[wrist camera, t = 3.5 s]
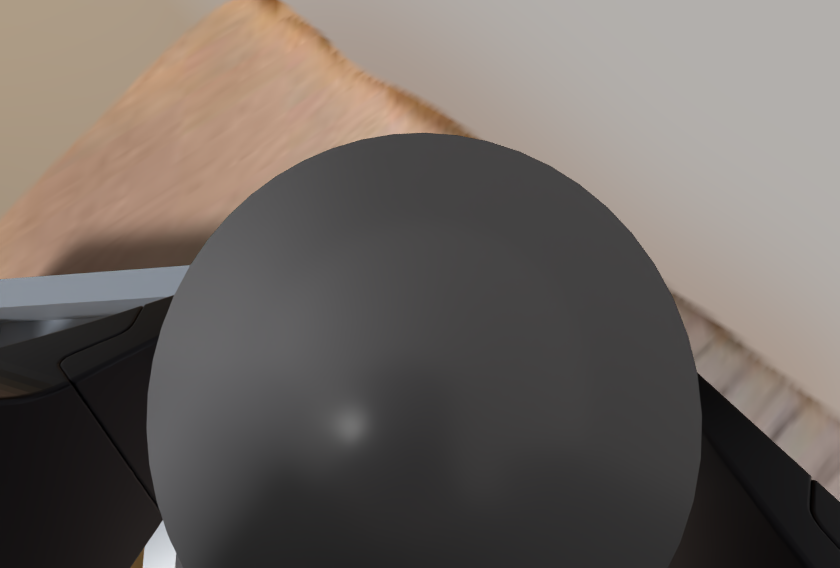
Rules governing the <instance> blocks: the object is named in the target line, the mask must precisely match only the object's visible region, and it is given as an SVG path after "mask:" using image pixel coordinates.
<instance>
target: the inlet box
mask: <svg viewBox="0 0 840 568" xmlns="http://www.w3.org/2000/svg"><path fill="white" fill-rule="evenodd" d="M189 266H190V265H187V266H173V267H160V268H146V269H133V270H120V271H106V272H93V273H79V274H66V275H53V276H39V277H26V278H12V279H0V347H3V346H7V345H11V344H14V343H18V342H21V341H25V340H29V339H32V338H36V337H39V336H43V335H47V334H50V333H54V332H57V331H61V330H64V329H68V328H71V327H75V326H78V325H82V324H85V323H89V322H92V321H95V320H98V319H102V318H105V317H108V316H111V315H114V314H117V313H121V312H124V311H127V310H130V309H133V308H136V307H139V306H143V307H144V305H145V304H148V303H151V302H154V301H157V300H160V299H163V298H166V297H169V296H172V295H175V293H176V291H177V289H178V287H179V285H180V283H181V281H182V280H183V278H184V276H185V274H186V272H187V270H188V268H189ZM131 568H183V566H182V564H181V562H180V560H179V558H178V556H177V554H176V552H175V550H174V547H173V545H172V543H171V541H170V539H169V537H168V534H167V531H166V528H165V525H164V522H163V521H162V522H161V524H160V525H159V527H158V528H157V530H156V531H155V533H154V534H153V536H152V537H151V538H150V540H149V541H148V543H147V544H146V546H145V547H144V549H143V550H142V552H141V553H140V555H139V556H138V557H137V559H136V560H135V562H134V563H133V565H132V566H131Z"/></svg>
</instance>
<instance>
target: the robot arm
mask: <svg viewBox="0 0 840 568" xmlns="http://www.w3.org/2000/svg"><path fill="white" fill-rule="evenodd" d="M173 297H174V295H172V296H169V297H166V298H163V299H160V300H157V301H154V302H151V303H148V304H145V305H144V307H143V306H139V307H136V308H133V309H130V310H127V311H124V312H121V313H117V314H114V315H111V316H108V317H105V318H102V319H98V320H95V321H92V322H89V323H85V324H82V325H78V326H75V327H71V328H68V329H64V330H61V331H57V332H54V333H50V334H47V335H43V336H39V337H36V338H32V339H29V340H25V341H21V342H18V343H14V344H11V345H7V346H3V347H0V568H131V566H132V565H133V563H134V562H135V560H136V559H137V557H138V556H139V555H140V553H141V552H142V550H143V549H144V547H145V546H146V544H147V543H148V541H149V540H150V538H151V537H152V536H153V534H154V533H155V531H156V530H157V528H158V527H159V525H160V524H161V522H162V521H163V519H162V516H161V513H160V510H159V507H158V504H157V501H156V496H155V491H154V486H153V481H152V476H151V470H150V465H149V454H148V442H147V429H146V428H147V401H148V389H149V382H150V376H151V369H152V362H153V357H154V354H155V350H156V346H157V342H158V339H159V335H160V331H161V328H162V325H163V322H164V320H165V317H166V315H167V312H168V310H169V307H170V304H171V302H172V299H173ZM697 375H698V384H699V393H700V402H701V411H702V434H701V460H700V466H699V472H698V478H697V484H696V490H695V496H694V501H693V504H692V507H691V511H690V514H689V517H688V520H687V523H686V526H685V529H684V533H683V536H682V539H681V542H680V544H679V546H678V548H677V550H676V552H675V554H674V556H673V558H672V560H671V562H670V564H669V566H668V568H840V502H839V501H838V500H837V499H836V498H835V497H834V496H833V495H831V494H830V493H829V492H828V491H827V490H826V489H825V488H824V487H823V486H822V485H821V484H819V483H818V482H817V481H816V480H811V476H810V475H809V474H808V473H807V472H806V471H805V470H804V469H803V468H802V467H801V466H799V465H798V464H797V463H796V462H795V461H794V460H793V459H792V458H791V457H790V456H788V455H787V454H786V453H785V452H784V451H783V450H782V449H781V448H780V447H779V446H777V445H776V444H775V443H774V442H773V441H772V440H771V439H770V438H769V437H768V436H766V435H765V434H764V433H763V432H762V431H761V430H760V429H759V428H758V427H757V426H755V425H754V424H753V423H752V422H751V421H750V420H749V419H748V418H747V417H746V416H744V415H743V414H742V413H741V412H740V411H739V410H738V409H737V408H736V407H735V406H733V405H732V404H731V403H730V402H729V401H728V400H727V399H726V398H725V397H724V396H722V395H721V394H720V393H719V392H718V391H717V390H716V389H715V388H714V387H713V386H711V385H710V384H709V383H708V382H707V381H706V380H705V379H704V378H703V377H702V376H700V375H699V374H698V373H697Z"/></svg>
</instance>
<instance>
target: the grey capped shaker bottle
mask: <svg viewBox="0 0 840 568" xmlns="http://www.w3.org/2000/svg"><path fill="white" fill-rule="evenodd" d="M146 429H147V442H148V454H149V465H150V470H151V476H152V481H153V486H154V491H155V496H156V501H157V504H158V507H159V510H160V513H161V516H162V519H163V522H164V525H165V528H166V531H167V534H168V537H169V539H170V541H171V543H172V545H173V547H174V550H175V552H176V554H177V556H178V558H179V560H180V562H181V564H182V566H183V568H668V566H669V564H670V562H671V560H672V558H673V556H674V554H675V552H676V550H677V548H678V546H679V544H680V542H681V539H682V536H683V533H684V529H685V526H686V523H687V520H688V517H689V514H690V511H691V507H692V504H693V501H694V496H695V490H696V484H697V478H698V472H699V466H700V460H701V434H702V411H701V402H700V393H699V384H698V375H697V371H696V367H695V363H694V359H693V354H692V350H691V346H690V342H689V338H688V335H687V332H686V329H685V327H684V324H683V322H682V319H681V317H680V314H679V312H678V309H677V307H676V304H675V301H674V299H673V297H672V295H671V293H670V291H669V290H668V288H667V286H666V284H665V282H664V280H663V279H662V277H661V275H660V273H659V271H658V270H657V268H656V266H655V264H654V263H653V261H652V260H651V259H650V257H649V256H648V255H647V253H646V252H645V250H644V249H643V248H642V246H641V245H640V244H639V242H638V241H637V240H636V238H635V237H634V235H633V234H632V233H631V232H630V231H629V230H628V229H627V228H626V227H625V226H624V225H623V223H621V221H620V220H619V219H618V218H617V217H616V216H615V215H614V214H613V213H612V212H611V211H610V210H609V209H608V208H607V207H606V206H605V205H604V204H602V203H601V202H600V201H599V200H598V199H597V198H595V197H594V196H593V195H592V194H590V193H589V192H588V191H587V190H586V189H584V188H583V187H582V186H581V185H579V184H578V183H576V182H575V181H573V180H572V179H570V178H568V177H567V176H565V175H564V174H562V173H560V172H559V171H557V170H555V169H554V168H552V167H551V166H549V165H547V164H545V163H543V162H540V161H538V160H536V159H534V158H532V157H530V156H527V155H526V154H523V153H521V152H519V151H515V150H513V149H510V148H506V147H504V146H501V145H497V144H494V143H491V142H488V141H483V140H478V139H473V138H468V137H463V136H458V135H447V134H433V133H412V134H392V135H387V136H381V137H375V138H369V139H363V140H359V141H356V142H352V143H349V144H346V145H342V146H339V147H335V148H332V149H330V150H327V151H325V152H323V153H320V154H318V155H316V156H313V157H311V158H309V159H306V160H304V161H302V162H300V163H299V164H297V165H295V166H293V167H291V168H290V169H288V170H286V171H284V172H283V173H281V174H279V175H277V176H276V177H275V178H273V179H272V180H270V181H269V182H268V183H266V184H265V185H264V186H262V187H261V188H260V189H258V190H257V191H255V192H254V193H253V194H251V195H250V196H249V197H248V198H247V199H246V200H245V201H244V202H243V203H242V204H241V205H240V206H238V207H237V208H236V209H235V210H234V211H233V212H232V213H231V214H230V215H229V216H228V217H227V218H226V219H225V220H224V221H223V223H222V224H221V225H220V226H219V227H218V228H217V230H216V231H215V232H214V233H213V234H212V235H211V237H210V238H209V239H208V240H207V241H206V243H205V244H204V246H203V247H202V249H201V250H200V252H199V253H198V255H197V256H196V258H195V259H194V261H193V262H192V263H191V265H190V266H189V268H188V270H187V272H186V274H185V276H184V278H183V280H182V281H181V283H180V285H179V287H178V289H177V291H176V293H175V295H174V297H173V299H172V302H171V304H170V307H169V310H168V312H167V315H166V317H165V320H164V322H163V325H162V328H161V331H160V335H159V339H158V342H157V346H156V350H155V354H154V357H153V362H152V369H151V376H150V382H149V389H148V401H147V428H146Z"/></svg>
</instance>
